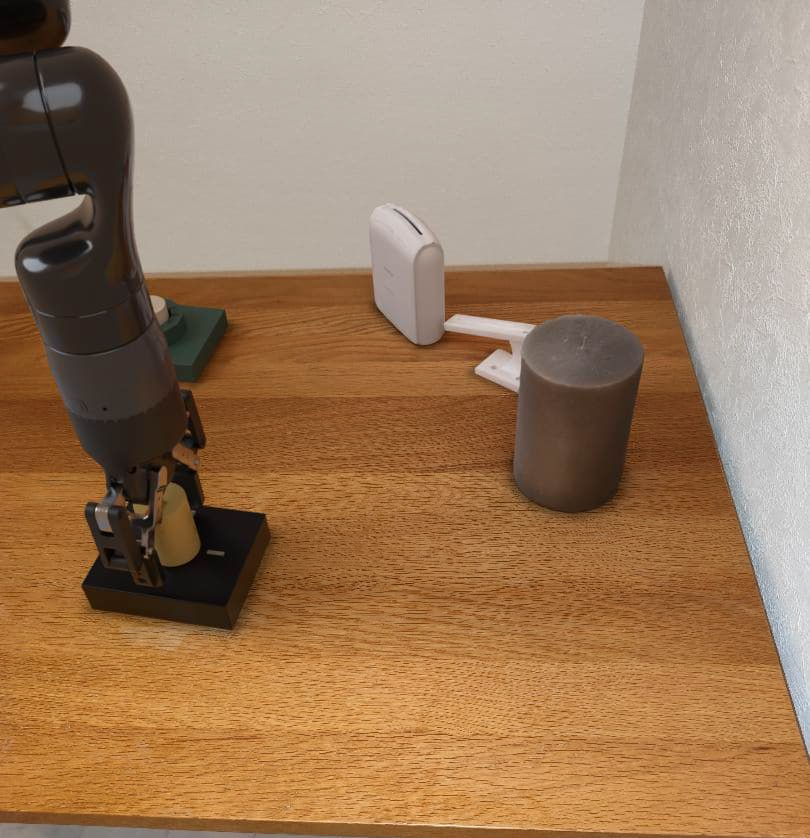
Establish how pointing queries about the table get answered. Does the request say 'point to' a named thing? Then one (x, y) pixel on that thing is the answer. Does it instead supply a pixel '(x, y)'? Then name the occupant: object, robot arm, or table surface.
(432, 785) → the table surface
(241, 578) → the plate
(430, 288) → the photo printer
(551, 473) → the pillar candle
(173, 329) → the block
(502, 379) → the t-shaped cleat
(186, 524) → the lock knob
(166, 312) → the bell button
